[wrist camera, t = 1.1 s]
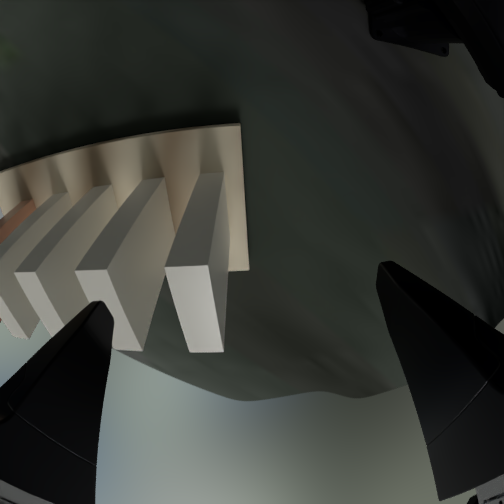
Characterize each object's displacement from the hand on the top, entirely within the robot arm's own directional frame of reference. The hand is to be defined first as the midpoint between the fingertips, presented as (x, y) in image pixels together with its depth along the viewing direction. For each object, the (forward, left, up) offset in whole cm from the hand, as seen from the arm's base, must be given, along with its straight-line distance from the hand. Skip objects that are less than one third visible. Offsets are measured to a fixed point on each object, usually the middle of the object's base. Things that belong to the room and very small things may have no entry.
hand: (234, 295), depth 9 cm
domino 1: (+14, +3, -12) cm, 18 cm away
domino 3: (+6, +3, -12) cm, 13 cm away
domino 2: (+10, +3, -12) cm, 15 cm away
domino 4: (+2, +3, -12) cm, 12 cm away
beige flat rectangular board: (+11, +3, -13) cm, 17 cm away
